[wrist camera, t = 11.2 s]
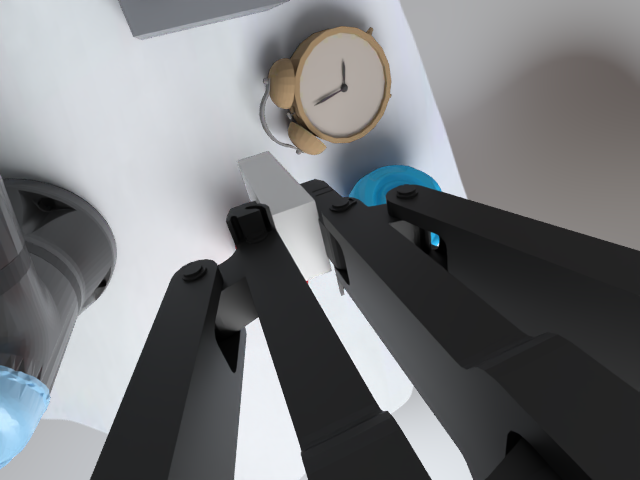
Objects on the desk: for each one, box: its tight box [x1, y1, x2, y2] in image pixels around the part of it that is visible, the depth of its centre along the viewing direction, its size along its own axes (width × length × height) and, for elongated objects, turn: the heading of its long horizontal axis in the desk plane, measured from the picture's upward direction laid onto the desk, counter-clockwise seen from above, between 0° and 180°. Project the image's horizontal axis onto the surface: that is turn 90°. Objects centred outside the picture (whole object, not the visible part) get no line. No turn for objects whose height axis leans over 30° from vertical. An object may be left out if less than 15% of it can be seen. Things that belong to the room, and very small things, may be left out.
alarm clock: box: [260, 26, 391, 155], centre depth 39 cm, size 11×5×15 cm
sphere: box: [349, 165, 442, 246], centre depth 44 cm, size 12×11×12 cm
